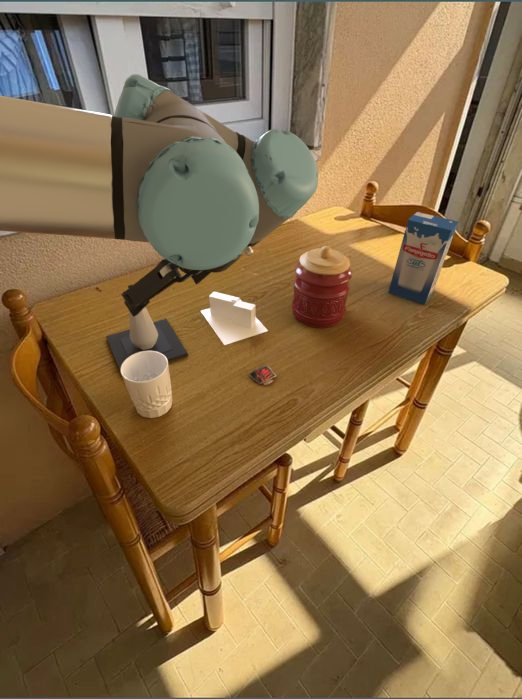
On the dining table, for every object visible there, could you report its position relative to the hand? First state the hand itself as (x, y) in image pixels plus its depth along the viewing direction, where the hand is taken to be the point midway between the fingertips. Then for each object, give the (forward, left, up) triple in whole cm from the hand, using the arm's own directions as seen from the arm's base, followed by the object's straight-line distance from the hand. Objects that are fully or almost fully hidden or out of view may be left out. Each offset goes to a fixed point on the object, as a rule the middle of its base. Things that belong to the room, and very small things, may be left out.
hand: (164, 292), depth 66 cm
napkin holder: (+13, +15, -19) cm, 28 cm away
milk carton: (+61, +21, -19) cm, 67 cm away
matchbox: (+17, -4, -19) cm, 26 cm away
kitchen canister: (+34, +16, -19) cm, 42 cm away
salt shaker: (-7, +8, -18) cm, 21 cm away
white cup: (-4, -9, -19) cm, 21 cm away
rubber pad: (-7, +9, -19) cm, 22 cm away
